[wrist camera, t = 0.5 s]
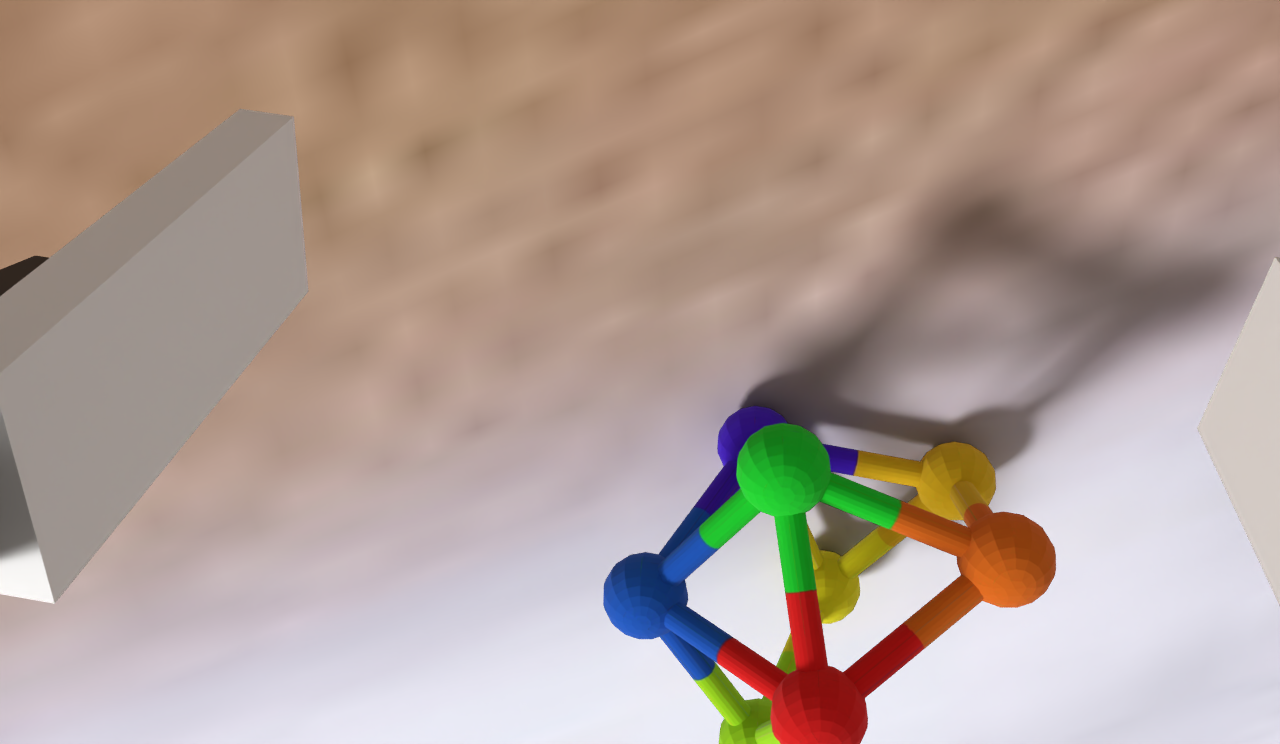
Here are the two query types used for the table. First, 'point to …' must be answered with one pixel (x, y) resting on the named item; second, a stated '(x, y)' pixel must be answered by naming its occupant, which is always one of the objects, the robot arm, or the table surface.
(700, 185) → the table surface
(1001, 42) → the table surface
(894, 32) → the table surface
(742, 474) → the educational toy
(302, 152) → the table surface
